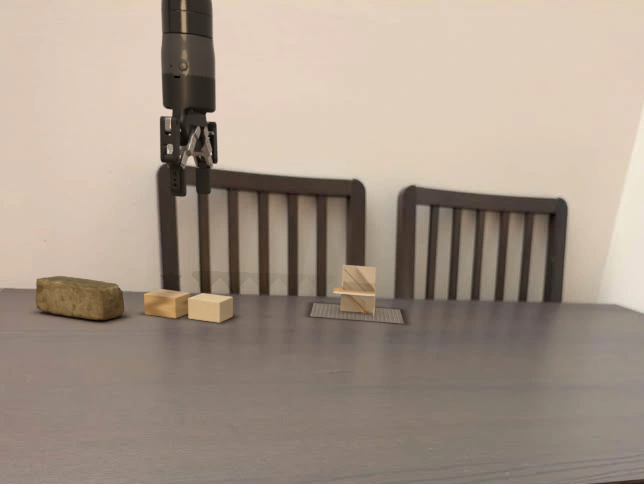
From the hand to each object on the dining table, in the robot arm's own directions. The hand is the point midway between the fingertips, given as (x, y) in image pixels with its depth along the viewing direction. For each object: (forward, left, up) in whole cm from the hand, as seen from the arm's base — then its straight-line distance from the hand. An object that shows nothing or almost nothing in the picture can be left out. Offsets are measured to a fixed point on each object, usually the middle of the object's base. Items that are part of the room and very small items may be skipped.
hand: (191, 195), depth 111 cm
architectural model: (+25, +9, -17) cm, 31 cm away
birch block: (0, -9, -17) cm, 18 cm away
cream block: (+6, -8, -16) cm, 19 cm away
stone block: (-10, -17, -17) cm, 25 cm away
